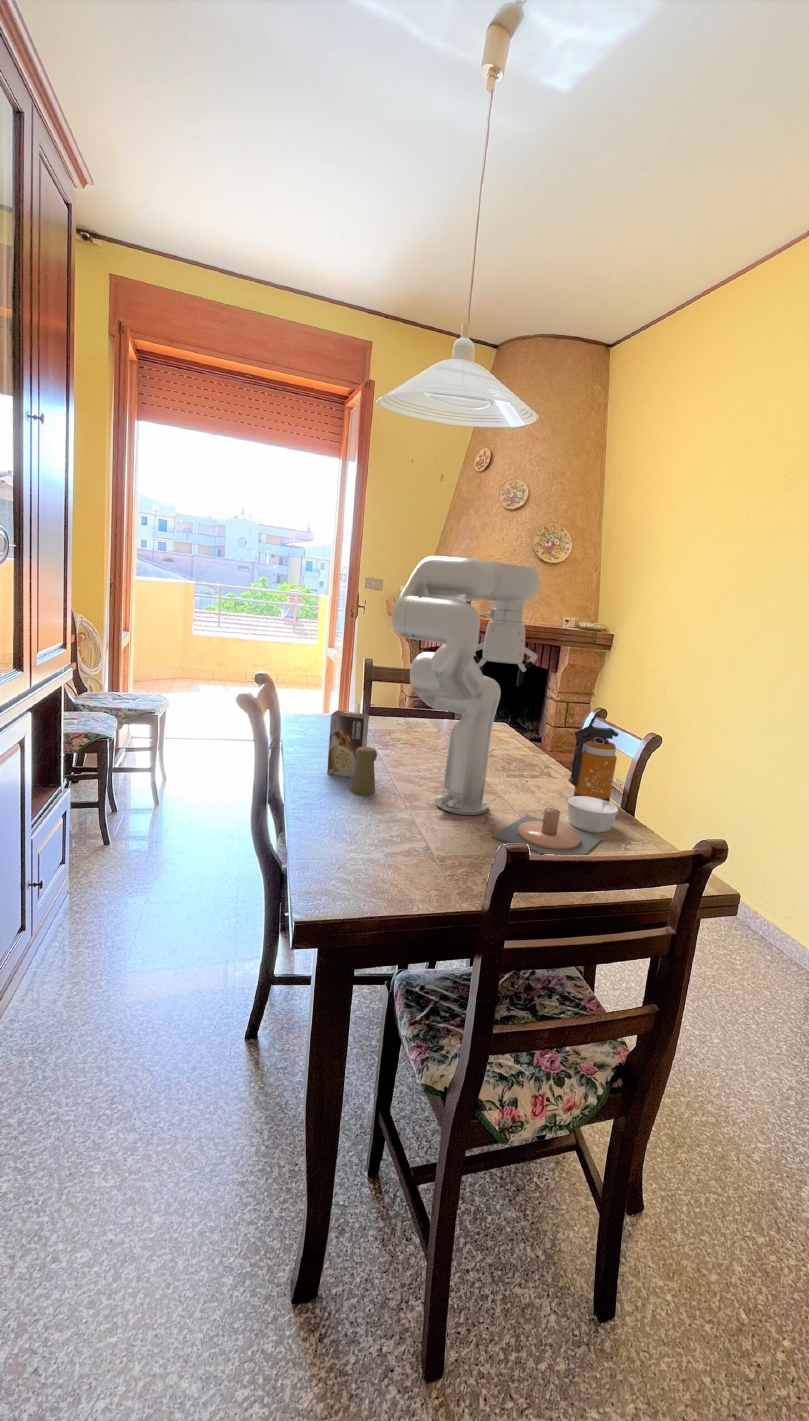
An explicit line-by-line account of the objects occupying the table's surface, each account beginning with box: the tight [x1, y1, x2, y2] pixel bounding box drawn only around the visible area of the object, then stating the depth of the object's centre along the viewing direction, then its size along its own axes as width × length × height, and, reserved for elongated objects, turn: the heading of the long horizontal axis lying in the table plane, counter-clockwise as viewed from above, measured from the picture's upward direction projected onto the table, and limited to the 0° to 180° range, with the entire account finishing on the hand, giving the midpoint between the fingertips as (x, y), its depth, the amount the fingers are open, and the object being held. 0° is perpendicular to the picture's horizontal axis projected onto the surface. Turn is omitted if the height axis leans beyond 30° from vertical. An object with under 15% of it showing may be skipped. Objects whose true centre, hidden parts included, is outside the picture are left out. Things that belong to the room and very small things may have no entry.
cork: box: [350, 746, 378, 796], centre depth 152 cm, size 6×6×11 cm
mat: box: [491, 814, 604, 856], centre depth 134 cm, size 18×18×1 cm
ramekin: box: [566, 795, 619, 834], centre depth 145 cm, size 11×11×5 cm
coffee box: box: [326, 710, 370, 778], centre depth 164 cm, size 9×6×16 cm
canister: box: [567, 724, 619, 802], centre depth 161 cm, size 9×11×20 cm
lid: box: [518, 807, 580, 850], centre depth 134 cm, size 13×13×6 cm
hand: (499, 684), depth 161 cm, fingers open, 9 cm apart
